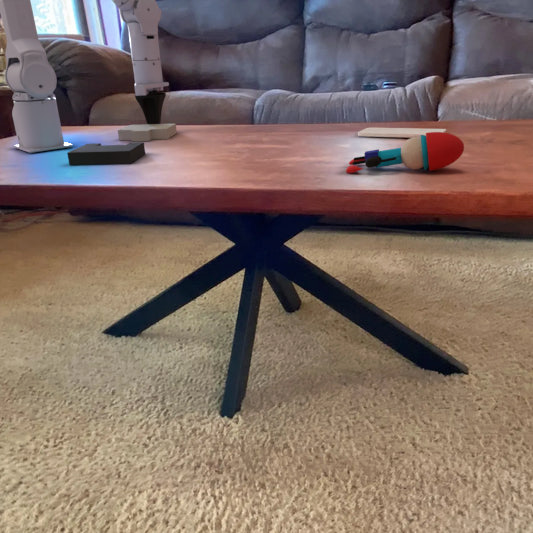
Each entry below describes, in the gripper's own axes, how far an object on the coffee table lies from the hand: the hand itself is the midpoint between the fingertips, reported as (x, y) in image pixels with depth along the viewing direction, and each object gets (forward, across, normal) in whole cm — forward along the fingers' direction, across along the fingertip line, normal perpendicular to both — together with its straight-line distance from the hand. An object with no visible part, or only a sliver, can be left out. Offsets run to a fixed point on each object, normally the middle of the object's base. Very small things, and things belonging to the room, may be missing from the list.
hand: (154, 128), depth 110 cm
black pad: (+1, -29, 0) cm, 29 cm away
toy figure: (+1, -42, -45) cm, 62 cm away
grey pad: (+1, -5, 0) cm, 5 cm away
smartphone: (+1, -13, -50) cm, 52 cm away
